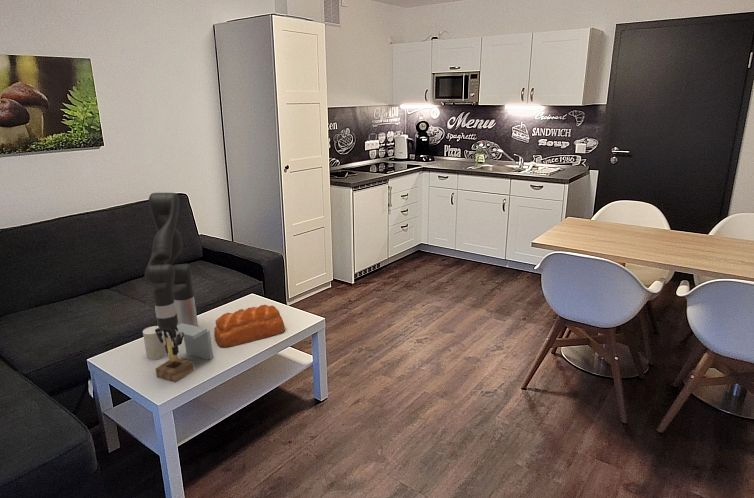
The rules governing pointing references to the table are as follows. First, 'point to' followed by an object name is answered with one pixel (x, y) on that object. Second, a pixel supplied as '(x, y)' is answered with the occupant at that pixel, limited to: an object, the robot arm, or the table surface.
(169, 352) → the peg
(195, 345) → the grey arch-shaped block
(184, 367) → the socket block
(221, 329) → the bread
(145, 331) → the cup
